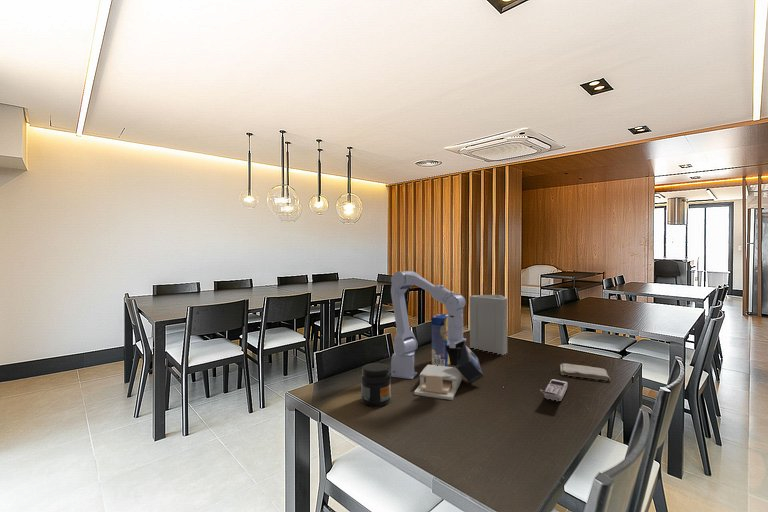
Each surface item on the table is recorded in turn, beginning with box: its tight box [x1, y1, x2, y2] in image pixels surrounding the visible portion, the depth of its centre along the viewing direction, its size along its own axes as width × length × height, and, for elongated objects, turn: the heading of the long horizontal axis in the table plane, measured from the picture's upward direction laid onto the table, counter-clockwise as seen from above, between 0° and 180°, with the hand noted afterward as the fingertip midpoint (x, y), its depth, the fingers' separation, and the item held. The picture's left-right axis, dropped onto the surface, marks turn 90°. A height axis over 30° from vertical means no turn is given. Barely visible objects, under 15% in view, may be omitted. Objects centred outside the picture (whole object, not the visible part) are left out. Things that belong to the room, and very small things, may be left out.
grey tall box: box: [469, 294, 508, 356], centre depth 190 cm, size 19×15×28 cm
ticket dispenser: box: [413, 364, 463, 401], centre depth 138 cm, size 14×20×5 cm
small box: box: [455, 343, 484, 384], centre depth 143 cm, size 11×6×10 cm
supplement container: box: [360, 362, 392, 407], centre depth 126 cm, size 10×10×12 cm
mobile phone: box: [539, 378, 569, 402], centre depth 129 cm, size 6×6×25 cm
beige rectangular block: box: [421, 375, 452, 393], centre depth 137 cm, size 10×16×6 cm, turn 159°
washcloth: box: [559, 363, 611, 382], centre depth 151 cm, size 12×18×3 cm, turn 65°
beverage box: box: [431, 313, 451, 367], centre depth 167 cm, size 7×11×22 cm, turn 153°
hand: (455, 362), depth 136 cm, fingers open, 7 cm apart
